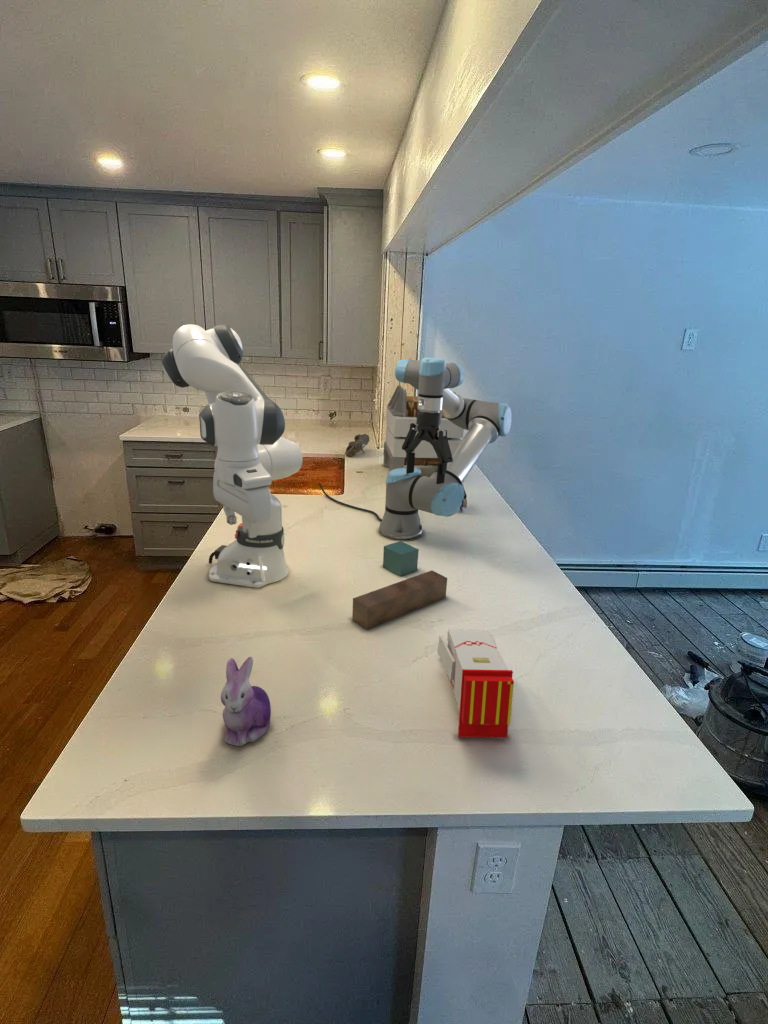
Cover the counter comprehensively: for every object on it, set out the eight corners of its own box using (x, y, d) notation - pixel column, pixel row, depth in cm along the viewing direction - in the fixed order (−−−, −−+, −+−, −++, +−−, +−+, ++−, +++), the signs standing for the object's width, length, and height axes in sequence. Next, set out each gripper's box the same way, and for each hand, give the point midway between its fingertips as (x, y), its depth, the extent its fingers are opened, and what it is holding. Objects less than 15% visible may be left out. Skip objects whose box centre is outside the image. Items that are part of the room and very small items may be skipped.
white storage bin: (382, 463, 289) (386, 382, 275) (445, 464, 293) (451, 384, 279) (390, 482, 257) (394, 392, 243) (460, 483, 261) (468, 394, 247)
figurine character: (467, 516, 223) (461, 500, 237) (469, 499, 220) (463, 483, 233) (450, 516, 223) (446, 499, 236) (452, 498, 220) (447, 483, 233)
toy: (488, 613, 130) (523, 677, 101) (484, 667, 133) (517, 744, 104) (435, 612, 130) (455, 676, 101) (432, 666, 133) (451, 743, 103)
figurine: (228, 756, 99) (223, 684, 94) (215, 719, 107) (210, 651, 102) (280, 740, 103) (279, 670, 98) (264, 706, 111) (262, 640, 106)
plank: (367, 629, 140) (367, 607, 138) (352, 619, 144) (352, 598, 142) (445, 597, 157) (447, 577, 155) (430, 589, 161) (432, 570, 159)
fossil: (345, 440, 316) (366, 424, 311) (356, 453, 319) (377, 438, 314) (339, 453, 297) (361, 437, 292) (350, 467, 300) (373, 452, 295)
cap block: (400, 576, 168) (401, 554, 166) (382, 566, 174) (383, 545, 172) (417, 570, 173) (418, 549, 170) (399, 561, 178) (400, 540, 176)
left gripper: (204, 461, 126) (207, 519, 131) (248, 483, 112) (250, 548, 117) (230, 457, 130) (233, 513, 135) (276, 479, 116) (277, 541, 121)
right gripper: (393, 405, 179) (389, 470, 186) (451, 418, 161) (445, 489, 168) (410, 403, 183) (406, 467, 190) (468, 416, 166) (462, 485, 173)
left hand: (241, 530), depth 126 cm, fingers open, 8 cm apart
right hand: (424, 478), depth 179 cm, fingers open, 13 cm apart
